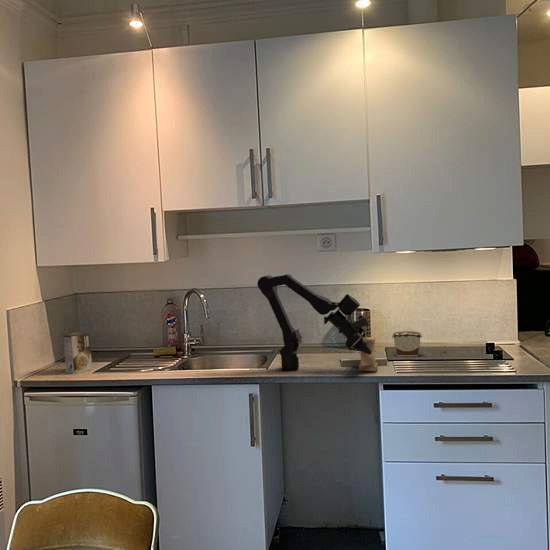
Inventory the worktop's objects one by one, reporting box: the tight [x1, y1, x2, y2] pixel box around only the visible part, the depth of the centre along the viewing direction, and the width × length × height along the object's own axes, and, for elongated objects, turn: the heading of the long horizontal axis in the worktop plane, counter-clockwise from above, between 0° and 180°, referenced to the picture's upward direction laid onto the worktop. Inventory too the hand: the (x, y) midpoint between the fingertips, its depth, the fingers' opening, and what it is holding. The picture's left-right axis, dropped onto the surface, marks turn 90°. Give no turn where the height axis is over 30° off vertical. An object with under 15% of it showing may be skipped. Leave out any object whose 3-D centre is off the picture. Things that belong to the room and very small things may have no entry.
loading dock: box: [339, 352, 388, 368], centre depth 250 cm, size 18×13×3 cm
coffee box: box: [62, 331, 93, 375], centre depth 258 cm, size 9×6×16 cm
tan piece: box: [358, 336, 378, 372], centre depth 236 cm, size 6×7×12 cm
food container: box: [391, 330, 422, 355], centre depth 261 cm, size 12×6×10 cm, turn 74°
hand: (371, 352), depth 236 cm, fingers closed on tan piece, 5 cm apart
